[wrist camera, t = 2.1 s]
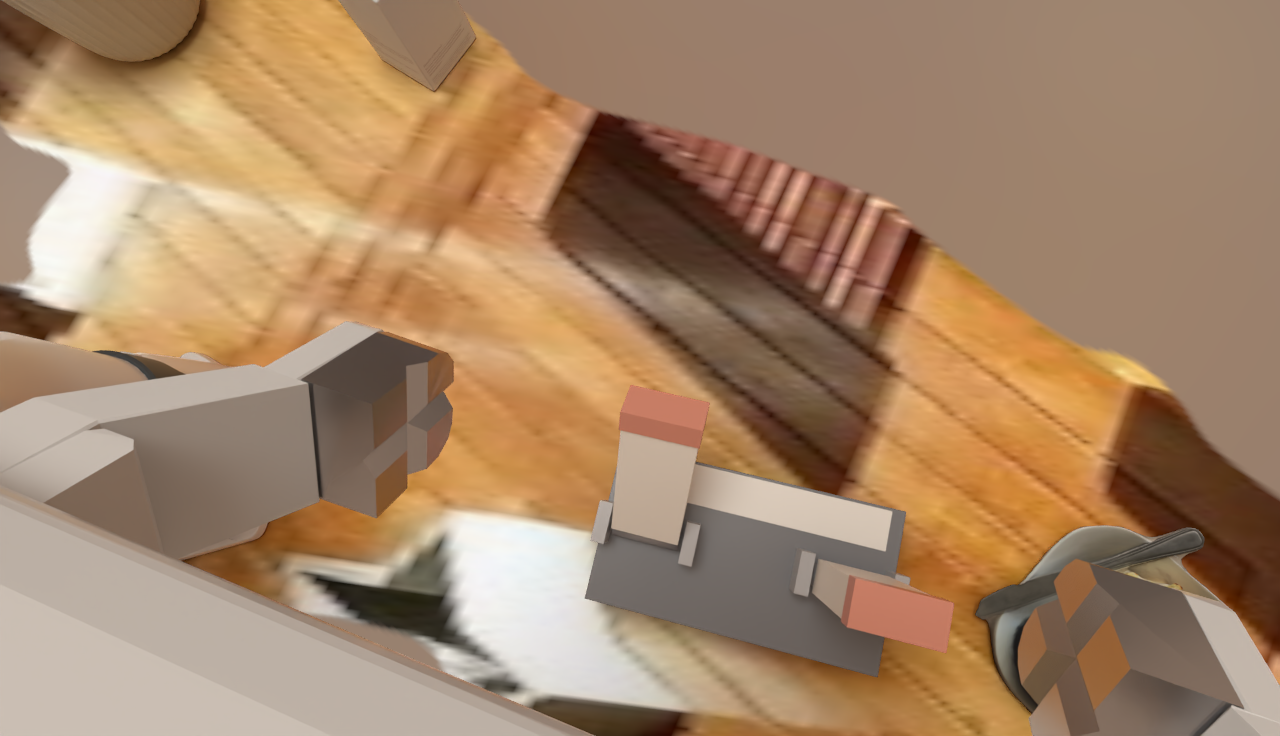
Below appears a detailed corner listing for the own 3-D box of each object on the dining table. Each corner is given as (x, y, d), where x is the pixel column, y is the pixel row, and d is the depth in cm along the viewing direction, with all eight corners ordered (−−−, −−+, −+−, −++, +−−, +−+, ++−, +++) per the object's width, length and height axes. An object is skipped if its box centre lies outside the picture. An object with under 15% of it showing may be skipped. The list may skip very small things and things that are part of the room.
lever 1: (675, 560, 50) (703, 430, 41) (608, 543, 50) (620, 411, 41) (682, 532, 52) (709, 402, 43) (617, 516, 52) (630, 384, 43)
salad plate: (1100, 458, 56) (1135, 455, 51) (1289, 621, 52) (1346, 634, 48) (942, 628, 54) (964, 641, 50) (1126, 806, 51) (1168, 837, 47)
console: (861, 658, 54) (891, 688, 46) (593, 586, 57) (575, 602, 49) (888, 510, 56) (921, 514, 48) (626, 448, 59) (614, 441, 51)
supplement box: (479, 37, 68) (429, -65, 55) (434, 94, 67) (374, 4, 55) (423, 3, 69) (363, -104, 57) (379, 59, 68) (308, -37, 56)
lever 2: (877, 608, 49) (946, 653, 35) (806, 589, 50) (846, 627, 36) (883, 572, 49) (954, 603, 36) (812, 554, 50) (855, 578, 36)
